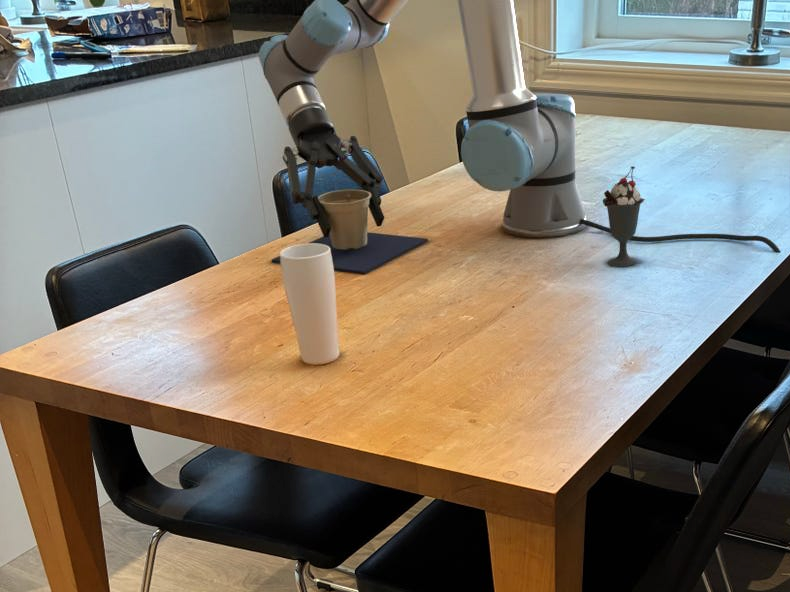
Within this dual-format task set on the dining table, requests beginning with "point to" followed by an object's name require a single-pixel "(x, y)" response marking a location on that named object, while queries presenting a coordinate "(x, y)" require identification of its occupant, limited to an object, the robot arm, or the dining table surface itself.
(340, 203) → the flower pot
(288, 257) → the white vase
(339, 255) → the placemat
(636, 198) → the sundae
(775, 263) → the dining table surface
